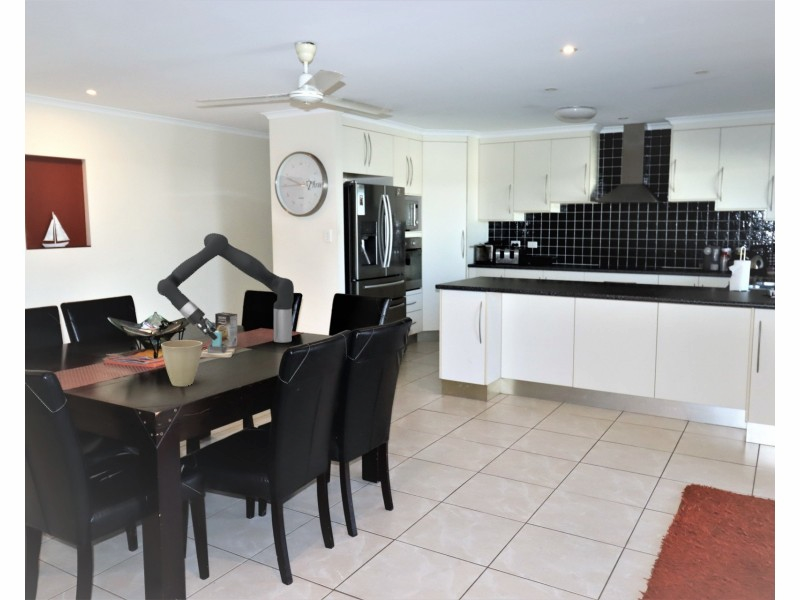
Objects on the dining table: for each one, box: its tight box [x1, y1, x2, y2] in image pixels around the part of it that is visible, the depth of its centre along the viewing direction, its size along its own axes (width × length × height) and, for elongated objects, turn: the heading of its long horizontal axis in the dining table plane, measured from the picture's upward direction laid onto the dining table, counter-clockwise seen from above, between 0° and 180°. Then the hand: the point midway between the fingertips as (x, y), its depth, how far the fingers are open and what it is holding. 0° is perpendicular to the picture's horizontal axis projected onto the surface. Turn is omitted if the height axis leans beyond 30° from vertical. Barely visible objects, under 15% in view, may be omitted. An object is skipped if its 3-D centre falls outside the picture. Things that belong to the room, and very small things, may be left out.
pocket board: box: [200, 343, 236, 358], centre depth 291 cm, size 14×14×4 cm
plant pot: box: [160, 339, 203, 387], centre depth 237 cm, size 15×15×16 cm
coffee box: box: [214, 311, 238, 348], centre depth 310 cm, size 9×6×16 cm
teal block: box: [211, 331, 222, 347], centre depth 290 cm, size 4×4×10 cm
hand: (217, 337), depth 290 cm, fingers open, 8 cm apart
